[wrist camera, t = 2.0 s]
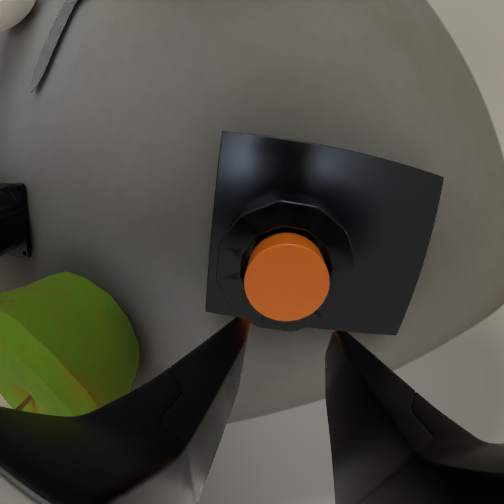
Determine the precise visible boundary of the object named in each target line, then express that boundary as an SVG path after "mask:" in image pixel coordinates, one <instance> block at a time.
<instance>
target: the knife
mask: <svg viewBox="0 0 504 504" xmlns="http://www.w3.org/2000/svg"><path fill="white" fill-rule="evenodd" d="M77 2H78V0H66V1H65V3H64V5H63V7H62V9H61V11H60V13H59V15H58V17H57V19H56V21H55V23H54V25H53V27H52V29H51V31H50V33H49V35H48V38H47V40H46V42H45V45H44V47H43V49H42V52H41V55H40V57H39V60H38V63H37V66H36V69H35V72H34V76H33V80H32V85H31V93H32V92H33V91H34V89H35V88H36V87H37V85H38V83H39V81H40V79H41V77H42V75H43V74H44V71H45V69H46V67H47V64H48V62H49V60H50V57H51V55H52V53H53V50H54V48H55V46H56V44H57V41H58V39H59V37H60V35H61V33H62V30H63V28H64V26H65V24H66V22H67V20H68V18H69V15H70V13H71V11H72V9H73V7H74V5H75V4H76V3H77Z"/></svg>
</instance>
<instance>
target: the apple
mask: <svg viewBox="0 0 504 504" xmlns="http://www.w3.org/2000/svg"><path fill="white" fill-rule="evenodd" d="M139 364H140V358H139V342H138V340H137V338H136V335H135V333H134V330H133V328H132V325H131V323H130V320H129V318H128V317H127V316H126V315H125V313H124V312H123V311H122V310H121V308H120V307H119V306H118V304H117V303H116V302H115V300H114V299H113V298H112V297H111V295H110V294H108V293H107V292H105V291H104V290H102V289H101V288H100V287H98V286H97V285H95V284H94V283H93V282H91V281H90V280H88V279H87V278H84V277H81V276H78V275H75V274H73V273H70V272H67V271H65V272H61V273H56V274H52V275H49V276H47V277H44V278H42V279H40V280H38V281H36V282H33V283H31V284H29V285H27V286H23V287H20V288H16V289H13V290H9V291H5V292H2V293H0V393H1V395H2V396H3V397H4V399H5V400H6V401H7V402H8V403H9V404H10V406H11V407H12V408H13V409H15V410H20V411H26V412H32V413H39V414H47V415H55V416H65V417H71V416H79V415H83V414H86V413H89V412H91V411H94V410H96V409H98V408H100V407H102V406H104V405H106V404H108V403H110V402H112V401H114V400H116V399H118V398H120V397H122V396H124V395H126V394H128V393H130V392H131V390H132V386H133V383H134V380H135V377H136V373H137V370H138V367H139Z"/></svg>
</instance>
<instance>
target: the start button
mask: <svg viewBox="0 0 504 504" xmlns="http://www.w3.org/2000/svg"><path fill="white" fill-rule="evenodd" d="M329 285H330V279H329V273H328V270H327V267H326V264H325V262H324V259H323V257H322V254H321V252H320V251H319V249H318V248H317V246H316V245H315V244H314V243H313V242H312V241H311V240H309V239H308V238H306V237H304V236H302V235H299V234H295V233H278V234H274V235H271V236H269V237H267V238H265V239H264V240H262V241H261V242H260V243H259V244H258V245H257V246H256V247H255V249H254V250H253V252H252V254H251V256H250V259H249V262H248V266H247V269H246V273H245V277H244V289H245V293H246V296H247V298H248V300H249V302H250V303H251V305H252V306H253V307H254V308H255V309H256V310H257V311H258V312H259V313H261V314H262V315H264V316H266V317H268V318H270V319H274V320H278V321H294V320H299V319H302V318H305V317H307V316H309V315H310V314H312V313H313V312H315V311H316V310H317V309H318V308H319V307H320V306H321V305H322V303H323V302H324V300H325V298H326V296H327V294H328V291H329Z"/></svg>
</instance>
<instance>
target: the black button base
mask: <svg viewBox="0 0 504 504" xmlns="http://www.w3.org/2000/svg"><path fill="white" fill-rule="evenodd" d="M442 184H443V177H441V176H438V175H435V174H432V173H429V172H426V171H423V170H420V169H417V168H414V167H410V166H407V165H403V164H400V163H396V162H393V161H389V160H386V159H382V158H378V157H374V156H370V155H366V154H362V153H358V152H353V151H349V150H344V149H340V148H335V147H330V146H325V145H320V144H314V143H309V142H303V141H297V140H291V139H285V138H278V137H271V136H263V135H255V134H247V133H237V132H227V131H223V132H222V138H221V146H220V154H219V163H218V171H217V180H216V190H215V199H214V209H213V220H212V231H211V242H210V254H209V267H208V280H207V295H206V312H212V313H217V314H223V315H229V316H235V317H241V318H246V319H249V320H250V322H252V323H253V324H255V325H256V326H259V327H262V328H269V329H276V330H283V331H296V330H299V329H302V328H305V327H311V328H320V329H329V330H339V331H349V332H360V333H372V334H385V335H397V333H398V330H399V328H400V326H401V323H402V321H403V318H404V316H405V313H406V311H407V308H408V306H409V303H410V300H411V298H412V295H413V292H414V289H415V286H416V283H417V281H418V278H419V275H420V271H421V268H422V265H423V262H424V259H425V255H426V252H427V248H428V245H429V241H430V238H431V234H432V230H433V226H434V222H435V218H436V213H437V209H438V204H439V200H440V195H441V189H442ZM278 233H295V234H299V235H302V236H304V237H306V238H308V239H309V240H311V241H312V242H313V243H314V244H315V245H316V246H317V248H318V249H319V251H320V252H321V254H322V257H323V259H324V262H325V264H326V267H327V270H328V273H329V279H330V285H329V291H328V294H327V296H326V298H325V300H324V302H323V303H322V305H321V306H320V307H319V308H318V309H317V310H316V311H315V312H313V313H312V314H310V315H309V316H307V317H305V318H302V319H299V320H294V321H278V320H274V319H270V318H268V317H266V316H264V315H262V314H261V313H259V312H258V311H257V310H256V309H255V308H254V307H253V306H252V305H251V303H250V302H249V300H248V298H247V296H246V293H245V289H244V277H245V273H246V269H247V266H248V262H249V259H250V256H251V254H252V252H253V250H254V249H255V247H256V246H257V245H258V244H259V243H260V242H261V241H262V240H264V239H265V238H267V237H269V236H271V235H274V234H278Z"/></svg>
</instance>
